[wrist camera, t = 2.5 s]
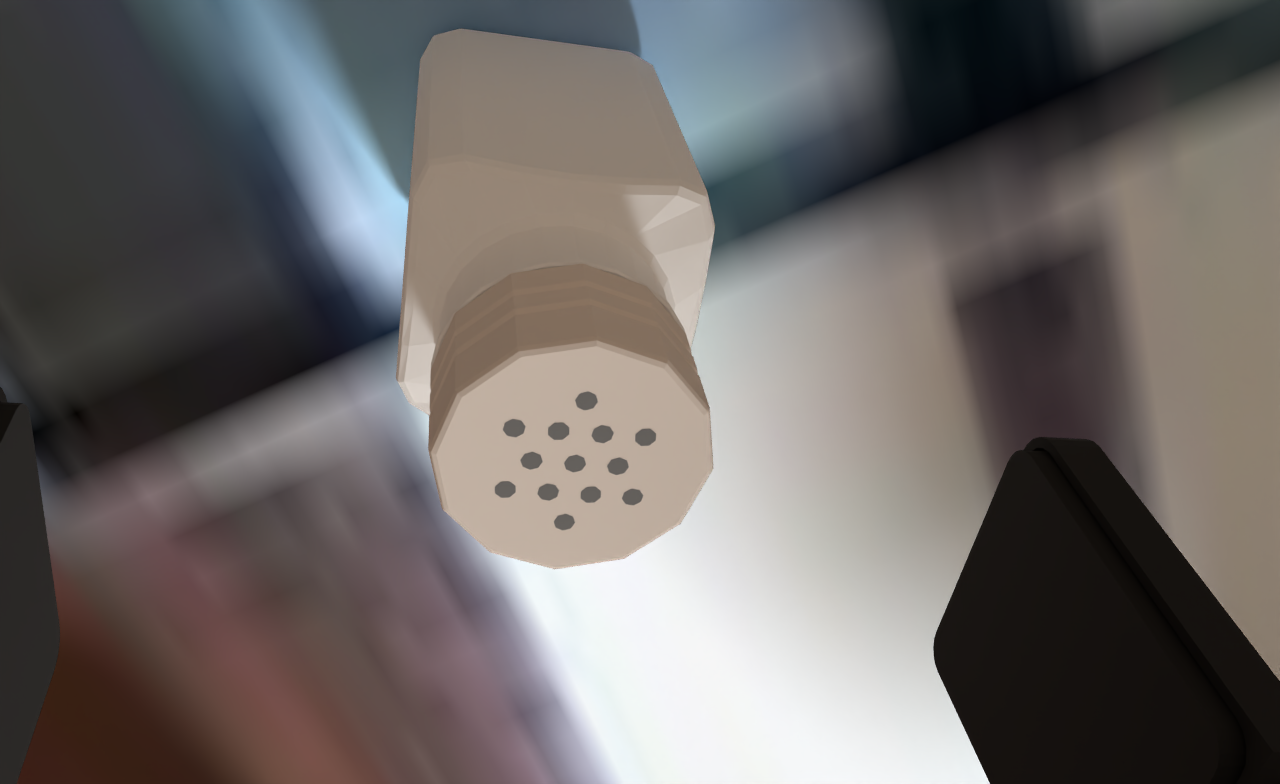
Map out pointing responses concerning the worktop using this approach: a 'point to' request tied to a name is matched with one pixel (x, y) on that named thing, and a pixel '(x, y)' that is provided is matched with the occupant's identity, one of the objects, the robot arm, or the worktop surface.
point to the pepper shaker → (554, 297)
